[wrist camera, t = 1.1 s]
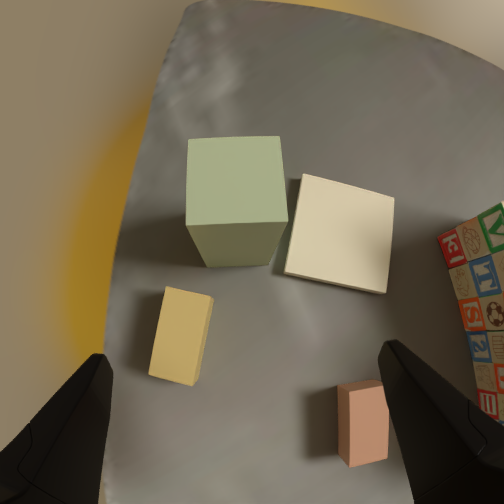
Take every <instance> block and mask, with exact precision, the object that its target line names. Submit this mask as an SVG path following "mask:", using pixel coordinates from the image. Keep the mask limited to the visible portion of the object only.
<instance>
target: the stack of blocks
mask: <svg viewBox="0 0 504 504" xmlns="http://www.w3.org/2000/svg"><path fill="white" fill-rule="evenodd" d="M437 238H438V241H439V243H440V246H441V249H442V251H443V254H444V257H445V260H446V262H447V266H448V267H449V274H450V277H451V281H452V284H453V287H454V290H455V294H456V297H457V299H458V304H459V308H460V312H461V316H462V320H463V324H464V328H465V330H466V334H467V338H468V342H469V347H470V351H471V356H472V360H473V366H474V371H475V377H476V383H477V392H478V400H479V408H480V409H481V410H483V411H484V412H485V413H486V414H488V415H489V416H490V417H492V418H493V419H495V420H496V421H497V422H499V423H500V424H502V425H503V426H504V201H503V202H500V203H499V204H497V205H495V206H493V207H491V208H490V209H488V210H486V211H484V212H483V213H481V214H479V215H478V216H477V217H475V218H472V219H470V220H468V221H467V222H465V223H462V224H461V225H458V226H457V227H456V228H454V229H452V230H450V231H447V232H445V233H443V234H442V235H440V236H438V237H437Z"/></svg>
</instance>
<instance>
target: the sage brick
mask: <svg viewBox="0 0 504 504" xmlns="http://www.w3.org/2000/svg"><path fill="white" fill-rule="evenodd" d="M287 223H288V213H287V202H286V192H285V182H284V172H283V163H282V153H281V144H280V136H252V137H221V138H202V139H188V158H187V187H186V227H187V229H188V231H189V233H190V235H191V237H192V239H193V241H194V243H195V245H196V247H197V249H198V251H199V253H200V255H201V257H202V258H203V260H204V262H205V264H206V266H207V268H212V267H236V266H260V265H268V264H269V262H270V260H271V258H272V256H273V254H274V251H275V249H276V247H277V245H278V243H279V241H280V238H281V236H282V234H283V232H284V230H285V228H286V225H287Z"/></svg>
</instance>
